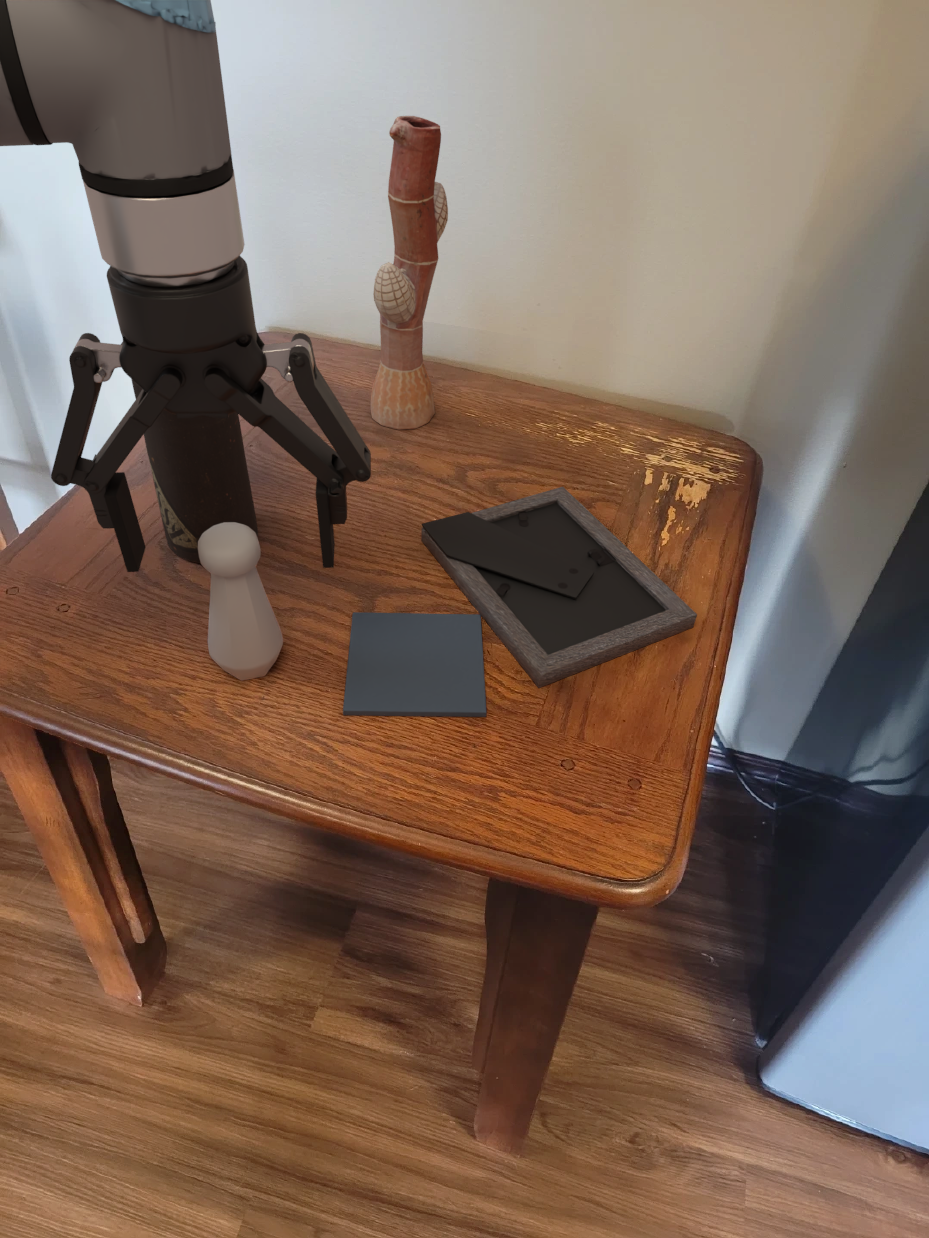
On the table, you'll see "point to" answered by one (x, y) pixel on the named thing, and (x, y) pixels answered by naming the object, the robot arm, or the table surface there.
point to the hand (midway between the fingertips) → (233, 558)
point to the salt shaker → (238, 603)
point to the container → (198, 476)
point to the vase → (408, 275)
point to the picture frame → (555, 584)
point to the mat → (415, 665)
